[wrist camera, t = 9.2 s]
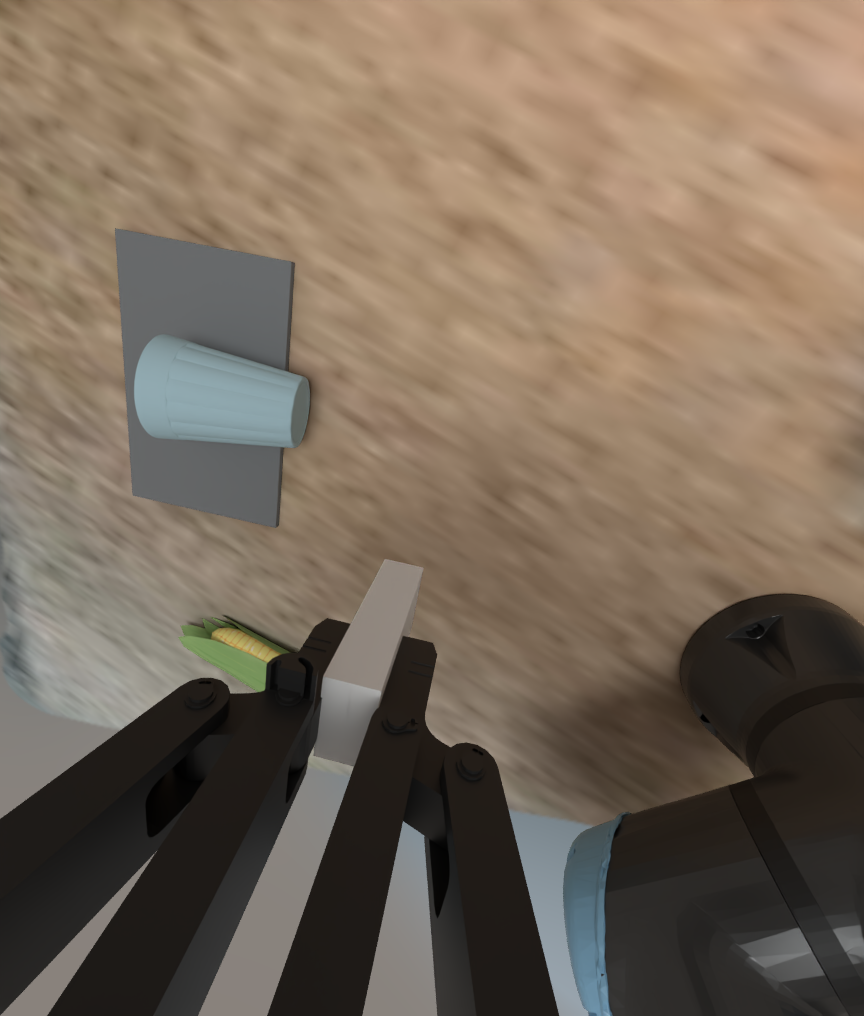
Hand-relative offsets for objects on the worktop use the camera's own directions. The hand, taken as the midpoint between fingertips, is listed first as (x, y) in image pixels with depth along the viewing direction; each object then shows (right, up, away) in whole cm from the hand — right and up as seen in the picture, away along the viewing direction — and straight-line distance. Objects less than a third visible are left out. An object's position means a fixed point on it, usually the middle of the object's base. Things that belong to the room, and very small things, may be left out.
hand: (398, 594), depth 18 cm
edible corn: (-15, -12, +31) cm, 37 cm away
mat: (-18, +13, +22) cm, 31 cm away
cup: (-9, +11, +18) cm, 23 cm away
